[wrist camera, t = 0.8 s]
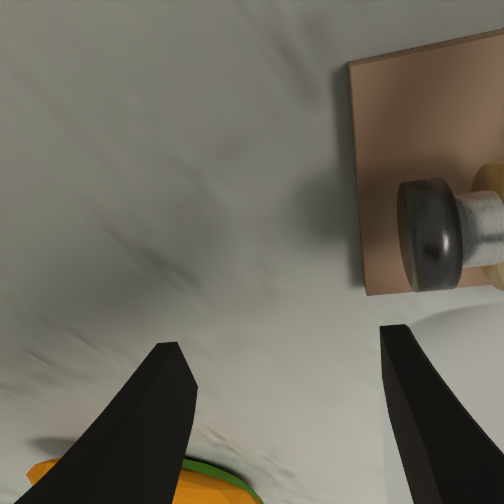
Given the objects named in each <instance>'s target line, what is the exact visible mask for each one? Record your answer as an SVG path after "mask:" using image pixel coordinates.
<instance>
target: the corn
mask: <svg viewBox="0 0 504 504" xmlns="http://www.w3.org/2000/svg"><path fill="white" fill-rule="evenodd" d="M60 459H61V458H54V459H51V460H48V461H45V462H42V463H39V464H36V465H34V466H33V467H32V468H31V470H30V471H29V472H28V473H27V474H26V475H27V477H28V478H29V480H30V482H31V484H32V485H33V486H34V485H35V484H36V483H37V482H38V481H39V480H40V479H41V478H42V477H43V476H44V475H45V474H46V473H47V472H48V471H49V470H50V469H51V468H52V467H53V466H54V465H55V464H56V463H57V462H58V461H59V460H60ZM172 504H264V503H263V501H262V499H261V497H260V496H258V495H257V494H256V492H255V491H254V490H253V489H252V488H251V487H250V486H248V485H247V484H246V483H244V482H243V481H242V480H240V479H239V478H237V477H235V476H234V475H232V474H229V473H227V472H225V471H223V470H221V469H219V468H216V467H213V466H210V465H208V464H204V463H200V462H196V461H192V460H188V459H184V460H183V464H182V468H181V472H180V476H179V479H178V483H177V487H176V491H175V495H174V498H173V502H172Z"/></svg>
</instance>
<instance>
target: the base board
mask: <svg viewBox="0 0 504 504" xmlns="http://www.w3.org/2000/svg"><path fill="white" fill-rule="evenodd" d="M348 71H349V85H350V99H351V112H352V126H353V139H354V153H355V167H356V180H357V194H358V207H359V221H360V235H361V248H362V262H363V275H364V285H365V290H366V295H367V296H371V295H382V294H393V293H404V292H414V291H413V290H412V288H411V286H410V284H409V282H408V279H407V276H406V273H405V269H404V265H403V261H402V256H401V250H400V244H399V236H398V226H397V194H398V189H399V185H400V184H401V183H402V182H407V181H414V180H421V179H427V178H434V177H442V178H443V179H444V180H445V181H446V182H447V183H448V185H449V187H450V189H451V191H452V193H453V195H456V194H463V193H470V192H471V189H472V185H473V181H474V178H475V176H476V174H477V172H478V171H479V169H480V168H481V167H482V166H483V165H485V164H489V163H495V162H502V161H504V29H500V30H495V31H491V32H486V33H481V34H477V35H472V36H467V37H463V38H458V39H453V40H449V41H444V42H439V43H435V44H430V45H425V46H421V47H416V48H411V49H407V50H402V51H397V52H393V53H388V54H383V55H379V56H374V57H369V58H365V59H360V60H355V61H351V62H348ZM490 284H491V283H490V282H489V281H488V279H487V278H486V276H485V275H484V273H483V271H482V269H481V267H480V266H476V267H466V268H462V274H461V278H460V281H459V283H458V285H457V287H456V288H458V287H468V286H479V285H490Z"/></svg>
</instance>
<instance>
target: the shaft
mask: <svg viewBox="0 0 504 504" xmlns="http://www.w3.org/2000/svg"><path fill="white" fill-rule="evenodd" d="M397 226H398V236H399V244H400V250H401V256H402V261H403V265H404V269H405V273H406V276H407V279H408V282H409V284H410V286H411V288H412V290H413V291H414V292H425V291H436V290H447V289H454V288H456V287H457V285H458V283H459V281H460V278H461V274H462V268H466V267H476V266H480V267H481V269H482V271H483V273H484V275H485V276H486V278H487V279H488V281H489V282H490V283H491V284H492V285H493V286H494V287H496V288H497V289H500V290H504V161H502V162H495V163H489V164H485V165H483V166H482V167H481V168H480V169H479V171H478V172H477V174H476V176H475V178H474V181H473V185H472V189H471V192H470V193H463V194H456V195H453V193H452V191H451V189H450V187H449V185H448V183H447V182H446V181H445V180H444V179H443V178H442V177H434V178H427V179H421V180H414V181H407V182H402V183H401V184H400V185H399V189H398V194H397Z"/></svg>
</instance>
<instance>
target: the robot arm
mask: <svg viewBox="0 0 504 504" xmlns="http://www.w3.org/2000/svg"><path fill="white" fill-rule="evenodd" d="M380 345H381V365H382V379H383V385H384V391H385V396H386V402H387V408H388V413H389V418H390V421H391V425H392V429H393V432H394V436H395V439H396V443H397V446H398V450H399V453H400V457H401V460H402V464H403V467H404V471H405V475H406V478H407V481H408V485H409V489H410V492H411V496H412V499H413V502H414V504H504V454H503V453H502V451H501V450H500V449H499V448H498V447H497V446H496V445H495V443H494V442H493V441H492V440H491V439H490V438H489V437H488V435H487V434H486V433H485V432H484V431H483V430H482V428H481V427H480V426H479V425H478V424H477V423H476V421H475V420H474V419H473V418H472V416H471V415H470V414H469V413H468V412H467V410H466V409H465V408H464V407H463V406H462V404H461V403H460V402H459V400H458V399H457V398H456V396H455V395H454V394H453V392H452V391H451V390H450V388H449V387H448V386H447V384H446V383H445V382H444V380H443V379H442V378H441V376H440V375H439V374H438V372H437V371H436V369H435V368H434V367H433V365H432V364H431V362H430V361H429V359H428V358H427V356H426V355H425V353H424V352H423V350H422V348H421V347H420V345H419V344H418V343H417V341H416V339H415V337H414V335H413V334H412V332H411V330H410V328H409V327H408V326H407V325H405V324H401V325H388V326H380ZM197 390H198V386H197V383H196V381H195V379H194V377H193V375H192V373H191V370H190V368H189V366H188V364H187V362H186V360H185V358H184V355H183V353H182V351H181V349H180V347H179V345H178V342H166V343H157V344H156V346H155V347H154V348H153V349H152V351H151V352H150V353H149V354H148V356H147V357H146V358H145V359H144V361H143V362H142V363H141V365H140V366H139V367H138V368H137V370H136V371H135V372H134V373H133V375H132V376H131V377H130V378H129V380H128V381H127V382H126V384H125V385H124V386H123V387H122V389H121V390H120V391H119V392H118V393H117V395H116V396H115V397H114V398H113V400H112V401H111V402H110V403H109V405H108V406H107V407H106V408H105V409H104V411H103V412H102V413H101V414H100V415H99V416H98V418H97V419H96V420H95V421H94V422H93V423H92V424H91V426H90V427H89V428H88V429H87V430H86V431H85V432H84V434H83V435H82V436H81V437H80V438H79V439H78V440H77V442H76V443H75V444H74V445H73V446H72V447H71V448H70V449H69V450H68V451H67V452H66V453H65V454H64V456H63V457H62V458H61V459H60V460H59V461H58V462H57V463H56V464H55V465H54V466H53V467H52V468H51V469H50V470H49V471H48V472H47V473H46V474H45V475H44V476H43V477H42V478H41V479H40V480H39V481H38V482H37V483H36V484H35V485H34V486H32V487H31V488H30V489H29V490H28V491H27V492H26V493H25V494H24V495H23V496H22V497H20V498H19V499H18V500H17V501H16V502H15V503H14V504H172V502H173V498H174V495H175V491H176V487H177V483H178V479H179V476H180V472H181V468H182V464H183V460H184V457H185V453H186V449H187V445H188V441H189V437H190V433H191V429H192V425H193V420H194V414H195V407H196V399H197Z"/></svg>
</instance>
